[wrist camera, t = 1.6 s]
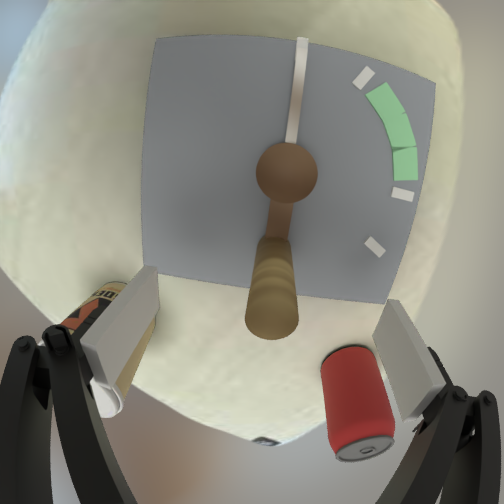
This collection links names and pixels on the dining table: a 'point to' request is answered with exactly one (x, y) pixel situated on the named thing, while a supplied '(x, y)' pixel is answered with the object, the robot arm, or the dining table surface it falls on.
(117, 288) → the coffee cup
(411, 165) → the board
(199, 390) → the dining table surface
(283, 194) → the peg dial
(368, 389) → the beer can
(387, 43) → the dining table surface
